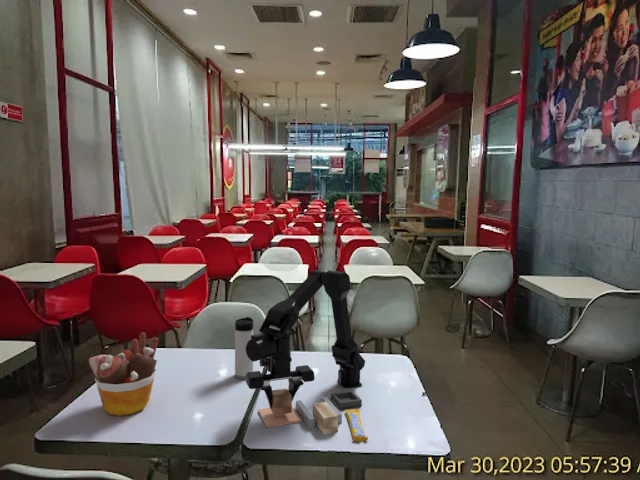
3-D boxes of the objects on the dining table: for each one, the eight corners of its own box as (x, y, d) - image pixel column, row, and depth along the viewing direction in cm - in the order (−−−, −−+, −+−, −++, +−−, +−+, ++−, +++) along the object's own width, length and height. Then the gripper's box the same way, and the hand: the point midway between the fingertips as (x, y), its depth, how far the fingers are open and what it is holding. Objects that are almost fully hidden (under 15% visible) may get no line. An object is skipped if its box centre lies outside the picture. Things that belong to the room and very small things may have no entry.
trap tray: (351, 396, 144) (351, 390, 143) (361, 406, 137) (361, 399, 137) (331, 399, 141) (331, 393, 141) (340, 409, 135) (340, 403, 134)
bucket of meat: (131, 426, 122) (129, 354, 121) (78, 419, 126) (76, 348, 124) (171, 396, 142) (170, 333, 140) (124, 390, 145) (123, 328, 144)
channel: (325, 404, 138) (326, 396, 138) (341, 422, 127) (341, 414, 126) (295, 409, 134) (295, 400, 134) (309, 428, 123) (309, 419, 123)
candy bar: (368, 444, 117) (369, 437, 116) (352, 444, 116) (352, 437, 116) (359, 413, 133) (359, 407, 133) (344, 413, 133) (344, 407, 133)
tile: (291, 406, 136) (291, 404, 136) (301, 421, 127) (302, 419, 127) (258, 411, 132) (258, 409, 132) (266, 427, 123) (266, 425, 123)
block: (286, 405, 132) (286, 388, 132) (291, 412, 128) (291, 395, 127) (269, 407, 130) (269, 390, 130) (274, 415, 126) (274, 397, 125)
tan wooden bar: (325, 416, 130) (326, 401, 130) (337, 432, 122) (338, 416, 121) (312, 419, 129) (312, 403, 128) (323, 434, 120) (324, 418, 120)
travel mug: (256, 373, 161) (257, 317, 159) (247, 380, 155) (248, 322, 153) (241, 371, 163) (241, 316, 161) (231, 377, 157) (231, 320, 155)
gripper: (302, 340, 139) (302, 390, 140) (241, 346, 132) (241, 398, 134) (315, 352, 128) (314, 405, 130) (249, 359, 122) (249, 415, 123)
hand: (280, 405), depth 129 cm, fingers closed on block, 5 cm apart
